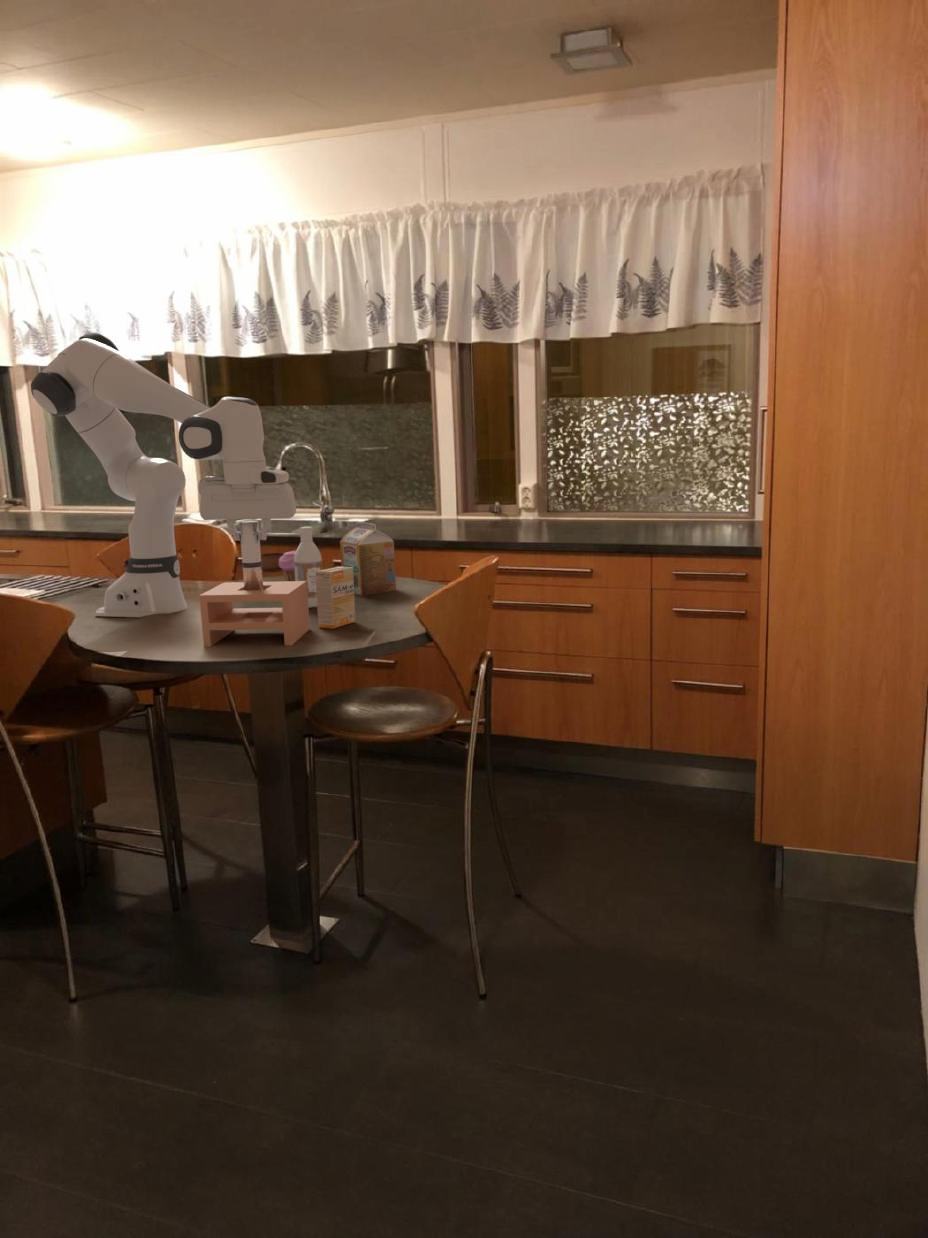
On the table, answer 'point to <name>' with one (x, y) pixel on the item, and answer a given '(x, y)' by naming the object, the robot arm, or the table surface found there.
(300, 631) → the collar frame
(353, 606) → the supplement box
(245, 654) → the table surface
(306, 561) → the bath foam
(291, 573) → the cupcake
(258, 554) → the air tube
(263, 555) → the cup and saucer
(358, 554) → the milk carton
